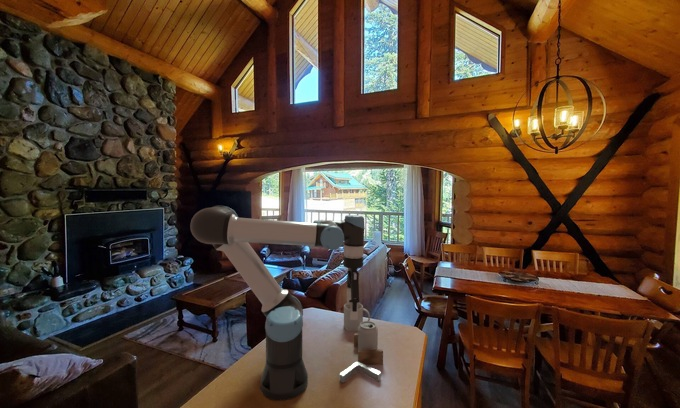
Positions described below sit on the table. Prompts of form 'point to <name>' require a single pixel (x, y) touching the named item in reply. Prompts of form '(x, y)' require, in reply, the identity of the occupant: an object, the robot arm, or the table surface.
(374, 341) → the can
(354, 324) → the mug
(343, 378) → the v block
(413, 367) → the table surface
